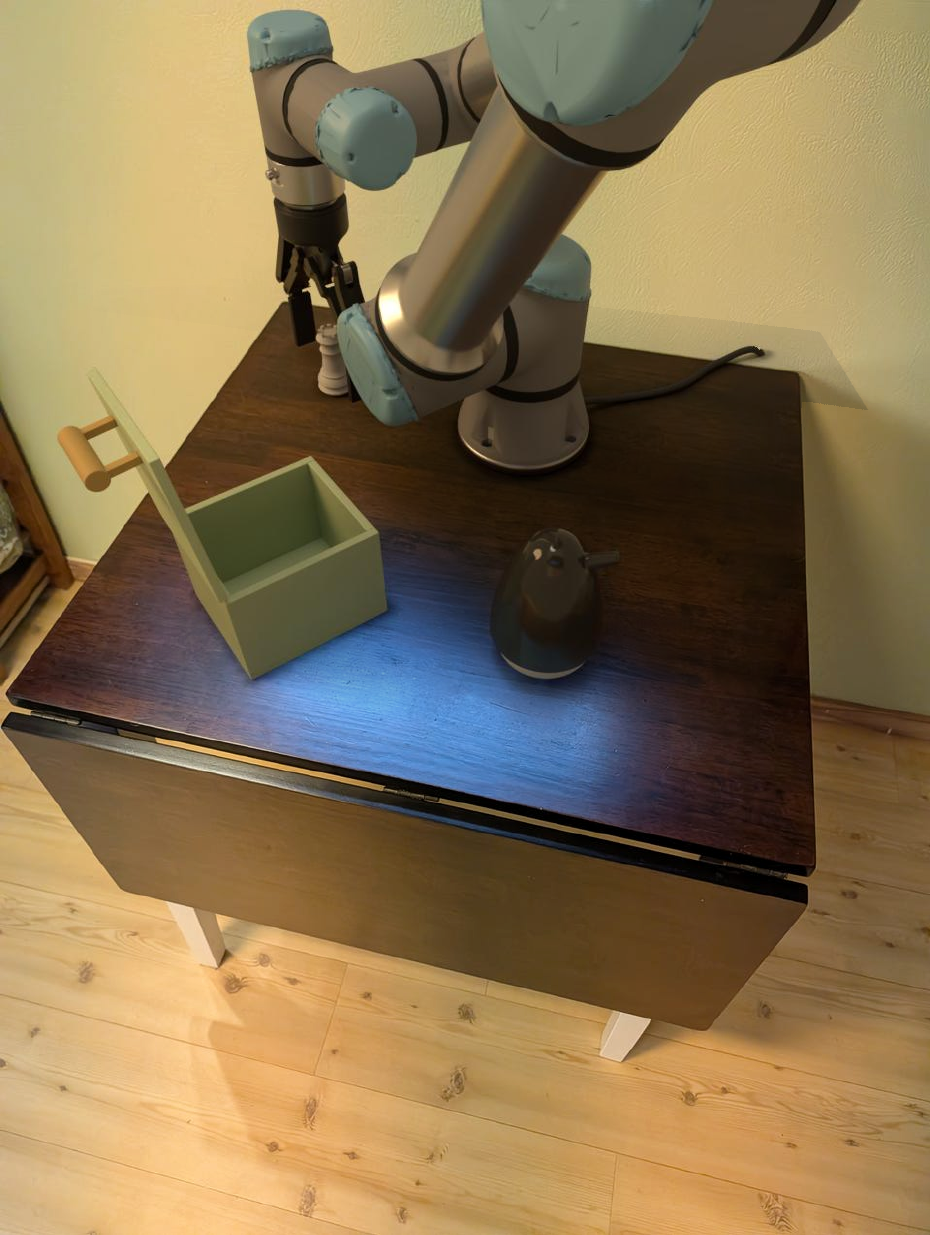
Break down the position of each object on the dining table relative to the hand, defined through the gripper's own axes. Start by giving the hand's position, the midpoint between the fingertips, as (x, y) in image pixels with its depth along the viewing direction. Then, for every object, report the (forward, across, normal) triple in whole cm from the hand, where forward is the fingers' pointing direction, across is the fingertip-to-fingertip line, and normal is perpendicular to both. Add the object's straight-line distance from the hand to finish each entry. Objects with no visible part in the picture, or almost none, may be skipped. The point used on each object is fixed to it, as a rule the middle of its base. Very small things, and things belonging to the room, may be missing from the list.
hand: (332, 369), depth 104 cm
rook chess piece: (+2, 0, 0) cm, 3 cm away
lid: (-17, +28, -29) cm, 44 cm away
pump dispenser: (+2, +48, -4) cm, 48 cm away
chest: (+2, +29, -21) cm, 36 cm away
